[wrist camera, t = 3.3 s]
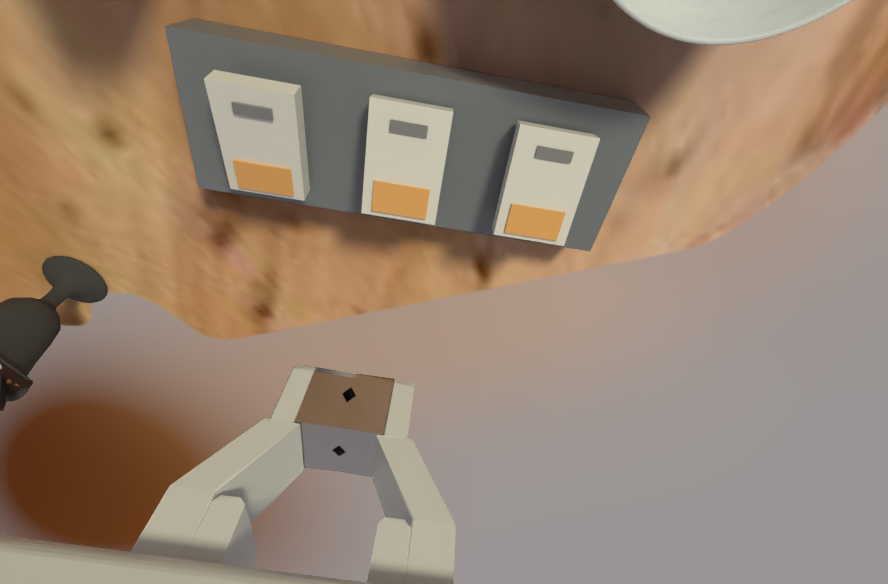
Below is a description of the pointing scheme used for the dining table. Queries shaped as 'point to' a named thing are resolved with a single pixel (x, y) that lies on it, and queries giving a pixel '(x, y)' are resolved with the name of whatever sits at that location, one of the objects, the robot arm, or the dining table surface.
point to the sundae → (40, 321)
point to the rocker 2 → (405, 158)
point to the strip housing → (366, 73)
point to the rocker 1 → (260, 133)
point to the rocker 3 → (543, 182)
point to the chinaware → (726, 18)
